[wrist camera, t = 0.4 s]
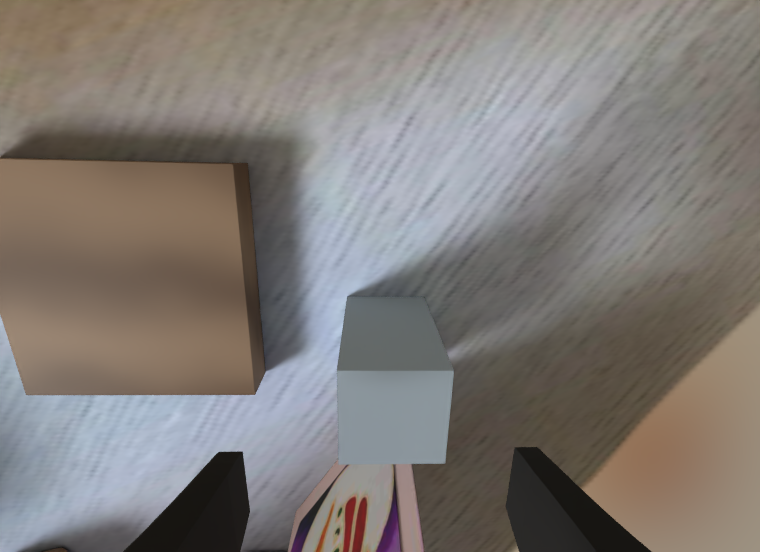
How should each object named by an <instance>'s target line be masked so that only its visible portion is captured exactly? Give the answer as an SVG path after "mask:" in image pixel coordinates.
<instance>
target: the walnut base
mask: <svg viewBox="0 0 760 552" xmlns="http://www.w3.org/2000/svg"><path fill="white" fill-rule="evenodd" d="M0 315H1V318H2V321H3V324H4V327H5V330H6V333H7V336H8V340H9V343H10V346H11V349H12V352H13V355H14V358H15V362H16V365H17V368H18V371H19V374H20V377H21V380H22V383H23V387H24V390H25V393H26V395H255V394H256V392H257V389H258V387H259V385H260V383H261V381H262V379H263V377H264V374H265V362H264V350H263V338H262V326H261V314H260V302H259V290H258V278H257V267H256V255H255V243H254V231H253V219H252V207H251V195H250V183H249V171H248V163H217V162H172V161H126V160H81V159H35V158H0Z"/></svg>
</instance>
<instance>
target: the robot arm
mask: <svg viewBox="0 0 760 552" xmlns="http://www.w3.org/2000/svg"><path fill="white" fill-rule="evenodd" d="M506 509H507V512H508V516H509V519H510V523H511V526H512V530H513V533H514V536H515V539H516V543H517V546H518V549H519V552H651V551H650V550H649V549H648V548H647V547H645V546H644V545H643V544H641V542H639V541H638V540H637V539H636V538H635V537H633V536H632V535H631V534H630V533H629V532H628V531H626V529H624V528H623V527H622V526H621V525H620V524H619V523H618V522H616V521H615V520H614V519H613V518H612V517H611V516H610V515H608V514H607V513H606V512H605V511H604V510H603V509H602V508H601V507H600V506H599V505H598V504H597V503H596V502H594V501H593V500H592V499H591V498H590V497H589V496H588V495H587V494H586V493H585V492H584V491H583V490H582V489H581V488H580V487H578V486H577V485H576V484H575V483H574V482H573V481H572V480H571V479H570V478H569V477H568V476H567V475H566V474H565V473H564V472H563V471H562V470H561V469H560V468H559V467H558V466H557V465H556V464H554V463H553V462H552V461H551V460H550V459H549V458H548V457H547V456H546V455H545V454H544V453H543V452H542V451H541V450H540V449H539V448H538V447H516V448H515V449H514V456H513V462H512V469H511V475H510V482H509V489H508V495H507V502H506ZM249 513H250V508H249V500H248V492H247V484H246V476H245V468H244V459H243V452H218V453H217V454H216V455H215V456H214V457H213V458H212V459H211V460H210V462H209V463H208V464H207V465H206V466H205V467H204V468H203V469H202V470H201V471H200V472H199V474H198V475H197V476H196V477H195V478H194V479H193V480H192V481H191V482H190V483H189V484H188V486H187V487H186V488H185V489H184V490H183V491H182V492H181V493H180V494H179V495H178V496H177V497H176V498H175V500H174V501H173V502H172V503H171V504H170V505H169V506H168V507H167V508H166V509H165V510H164V511H163V512H162V513H161V514H160V515H159V516H158V517H157V518H156V519H155V520H154V521H153V522H152V523H151V524H150V526H149V527H148V528H147V529H146V530H145V531H144V532H143V533H142V534H141V535H140V536H139V537H138V538H137V539H136V540H135V541H133V542H132V543H131V544H130V545H129V546H128V547H127V548H126V549H125V550H124V551H123V552H240V550H241V546H242V542H243V538H244V534H245V530H246V526H247V522H248V517H249Z"/></svg>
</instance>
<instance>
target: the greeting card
mask: <svg viewBox="0 0 760 552" xmlns="http://www.w3.org/2000/svg"><path fill="white" fill-rule="evenodd" d="M288 552H425V549H424V542H423V535H422V529H421V522H420V515H419V508H418V501H417V494H416V487H415V480H414V473H413V467H412V464H353V465H338V460H337V461H336V462H335V464H334V465H333V466H332V467H331V469H330V470H329V471H328V472H327V474H326V475H325V476H324V477H323V479H322V480H321V481H320V482H319V484H318V485H317V486H316V487H315V489H314V490H313V491H312V492H311V494H310V495H309V496H308V497H307V499H306V500H305V501H304V502H303V504H302V505H301V506H300V507H299V509H298V510H297V511H296V514H295V519H294V524H293V529H292V534H291V539H290V544H289V549H288Z"/></svg>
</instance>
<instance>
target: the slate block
mask: <svg viewBox="0 0 760 552" xmlns="http://www.w3.org/2000/svg"><path fill="white" fill-rule="evenodd" d="M453 376H454V369H453V367H452V365H451V362H450V360H449V357H448V355H447V352H446V350H445V347H444V345H443V342H442V340H441V337H440V335H439V332H438V330H437V328H436V325H435V323H434V320H433V318H432V315H431V313H430V310H429V308H428V305H427V303H426V300H425V298H424V297H372V296H347V301H346V309H345V316H344V323H343V330H342V337H341V345H340V352H339V359H338V366H337V409H338V465H353V464H445V460H446V450H447V439H448V429H449V418H450V408H451V397H452V387H453Z"/></svg>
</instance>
